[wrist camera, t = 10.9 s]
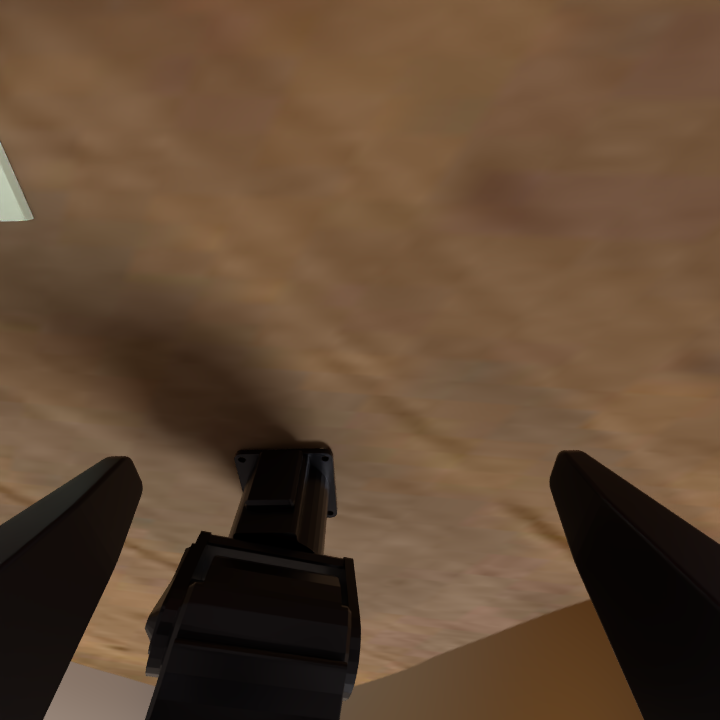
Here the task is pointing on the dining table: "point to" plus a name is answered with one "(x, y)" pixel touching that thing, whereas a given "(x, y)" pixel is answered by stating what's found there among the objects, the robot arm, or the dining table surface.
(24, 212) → the pad
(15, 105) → the dining table surface
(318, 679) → the robot arm
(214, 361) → the dining table surface
